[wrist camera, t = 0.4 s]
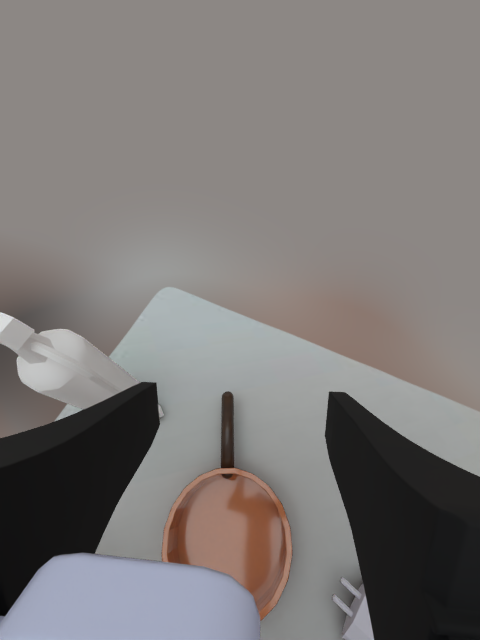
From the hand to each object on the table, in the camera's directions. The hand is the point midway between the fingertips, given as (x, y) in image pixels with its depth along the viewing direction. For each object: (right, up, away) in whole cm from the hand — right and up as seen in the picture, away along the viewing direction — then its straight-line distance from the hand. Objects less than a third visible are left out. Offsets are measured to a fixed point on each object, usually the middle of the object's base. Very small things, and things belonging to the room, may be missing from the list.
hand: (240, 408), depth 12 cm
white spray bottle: (-16, -9, +32) cm, 37 cm away
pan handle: (-2, -11, +26) cm, 28 cm away
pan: (-1, -22, +22) cm, 32 cm away
